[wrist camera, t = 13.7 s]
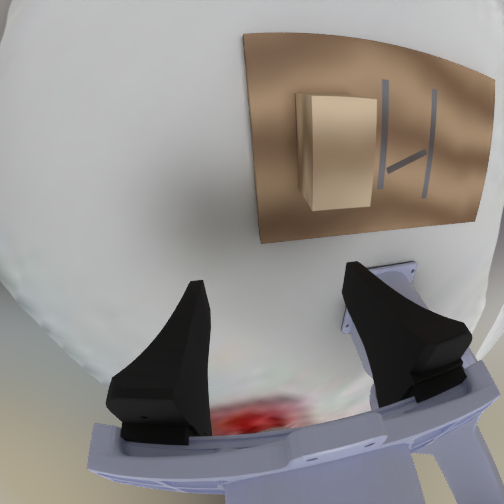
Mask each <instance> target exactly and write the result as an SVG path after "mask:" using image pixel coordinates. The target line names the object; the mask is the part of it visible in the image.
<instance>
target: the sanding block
mask: <svg viewBox="0 0 504 504" xmlns="http://www.w3.org/2000/svg"><path fill="white" fill-rule="evenodd" d="M295 112H296V136H297V173H298V189H299V190H300V192H301V194H302V195H303V197H304V198H305V200H306V201H307V203H308V205H309V206H310V208H311V210H312V211H320V210H332V209H344V208H357V207H370V203H371V195H372V185H373V174H374V162H375V147H376V124H377V99H373V98H368V97H362V96H356V95H350V94H331V93H295Z"/></svg>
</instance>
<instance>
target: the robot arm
mask: <svg viewBox="0 0 504 504" xmlns="http://www.w3.org/2000/svg"><path fill="white" fill-rule="evenodd" d="M416 269H417V264H416V263H415V262H410V263H404V264H398V265H392V266H385V267H379V268H373V269H367V268H366V267H364V266H363V265H362V264H361V263H359V262H358V261H355V262H348V263H346V270H345V277H344V283H343V289H342V295H343V298H344V301H345V304H346V312H345V316H344V321H343V325H342V330H341V331H342V333H343V334H346V333H350V334H351V336H352V339H353V341H354V344H355V346H356V349H357V351H358V354H359V357H360V359H361V362H362V364H363V367H364V369H365V371H366V372H367V374H368V375H369V376H371V377H372V378H373V380H374V384H373V385H372V387H371V391H370V406H371V409H372V411H368V412H365V413H361V414H358V415H354V416H350V417H346V418H342V419H338V420H334V421H330V422H325V423H320V424H315V425H310V426H305V427H299V428H293V429H287V430H281V431H272V432H264V433H255V434H244V435H230V436H212V430H211V420H210V409H209V394H208V355H209V343H210V331H211V316H210V307H209V303H208V299H207V295H206V291H205V287H204V282H203V280H198V281H191V282H190V283H189V284H188V287H187V289H186V291H185V293H184V294H183V296H182V298H181V300H180V302H179V304H178V305H177V307H176V309H175V311H174V312H173V314H172V315H171V317H170V319H169V320H168V322H167V323H166V325H165V326H164V327H163V329H162V330H161V332H160V333H159V334H158V335H157V337H156V338H155V339H154V340H153V341H152V343H151V344H150V345H149V346H148V347H147V348H146V349H145V350H144V351H143V352H142V353H141V354H140V355H139V356H138V357H137V358H136V359H135V360H134V361H133V362H132V363H131V364H129V365H128V366H127V367H126V368H124V369H123V370H122V371H120V372H119V373H118V374H116V375H115V376H114V377H112V380H111V383H110V386H109V390H108V395H107V399H106V406H107V408H108V409H109V410H110V412H112V413H113V414H114V415H115V416H116V417H117V418H118V419H119V420H121V421H122V428H120V427H117V426H112V425H106V424H99V423H95V424H94V427H93V432H92V438H91V444H90V450H89V457H88V464H87V469H88V470H89V471H91V472H93V473H95V474H97V475H100V476H103V477H105V478H107V479H109V480H112V481H114V482H119V483H123V484H129V485H134V486H140V487H146V488H153V489H160V490H168V491H177V492H187V493H202V494H225V501H226V504H425V500H424V496H423V493H422V489H421V486H420V482H419V479H418V476H417V472H416V469H415V466H414V462H413V459H412V456H411V453H420V454H430V455H433V456H434V457H435V459H436V461H437V463H438V465H439V467H440V469H441V471H442V473H443V475H444V477H445V479H446V481H447V483H448V485H449V487H450V489H451V491H452V493H453V495H454V497H455V499H456V501H457V503H458V504H504V485H503V483H502V480H501V477H500V475H499V472H498V470H497V467H496V465H495V462H494V460H493V458H492V455H491V453H490V451H489V449H488V447H487V445H486V442H485V440H484V438H483V436H482V434H481V432H480V430H479V428H478V426H477V423H478V421H479V419H480V416H481V414H482V413H483V411H484V410H486V409H487V408H488V407H489V406H490V405H491V404H492V403H493V402H494V401H495V400H497V399H498V398H499V397H500V395H501V394H500V392H499V390H498V388H497V386H496V385H495V383H494V381H493V379H492V377H491V375H490V373H489V371H488V370H487V368H486V366H485V364H484V363H483V361H482V360H480V361H477V359H476V358H475V356H474V354H473V353H472V351H471V349H470V348H469V345H470V343H471V341H472V334H471V333H470V331H469V330H468V328H467V327H466V325H465V324H464V323H463V322H459V321H456V320H453V319H449V318H447V317H444V316H441V315H439V314H436V313H434V312H432V311H430V310H429V309H428V308H427V306H426V305H425V303H424V302H423V300H422V299H421V298H420V296H419V295H418V293H417V292H416V290H415V289H414V287H413V286H412V285H411V284H412V281H413V278H414V275H415V272H416Z"/></svg>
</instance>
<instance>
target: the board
mask: <svg viewBox="0 0 504 504" xmlns="http://www.w3.org/2000/svg"><path fill="white" fill-rule="evenodd" d="M243 45H244V56H245V67H246V78H247V89H248V101H249V112H250V124H251V135H252V147H253V159H254V172H255V184H256V197H257V209H258V222H259V235H260V241H261V244H265V243H274V242H283V241H292V240H301V239H310V238H319V237H328V236H338V235H347V234H356V233H366V232H375V231H385V230H395V229H404V228H414V227H424V226H434V225H444V224H454V223H465V222H475V219H476V215H477V212H478V208H479V204H480V200H481V196H482V192H483V187H484V182H485V178H486V172H487V167H488V161H489V155H490V148H491V140H492V131H493V120H494V104H495V80H494V79H492V78H490V77H488V76H486V75H483V74H481V73H479V72H477V71H474V70H472V69H469V68H467V67H464V66H462V65H459V64H456V63H454V62H451V61H448V60H445V59H442V58H439V57H436V56H433V55H430V54H426V53H423V52H420V51H416V50H412V49H408V48H404V47H400V46H396V45H391V44H387V43H382V42H377V41H371V40H365V39H359V38H352V37H344V36H335V35H325V34H310V33H250V34H244V35H243ZM295 93H331V94H350V95H356V96H362V97H368V98H373V99H377V124H376V147H375V162H374V174H373V185H372V195H371V203H370V207H357V208H344V209H332V210H320V211H312V210H311V208H310V206H309V205H308V203H307V201H306V200H305V198H304V197H303V195H302V194H301V192H300V190H299V189H298V173H297V136H296V112H295Z"/></svg>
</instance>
